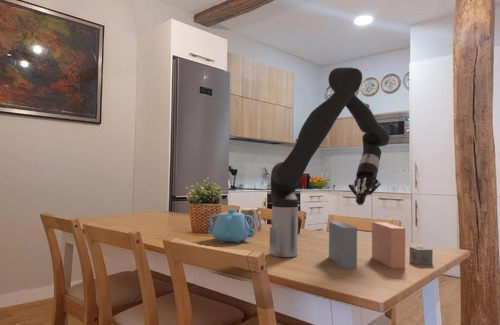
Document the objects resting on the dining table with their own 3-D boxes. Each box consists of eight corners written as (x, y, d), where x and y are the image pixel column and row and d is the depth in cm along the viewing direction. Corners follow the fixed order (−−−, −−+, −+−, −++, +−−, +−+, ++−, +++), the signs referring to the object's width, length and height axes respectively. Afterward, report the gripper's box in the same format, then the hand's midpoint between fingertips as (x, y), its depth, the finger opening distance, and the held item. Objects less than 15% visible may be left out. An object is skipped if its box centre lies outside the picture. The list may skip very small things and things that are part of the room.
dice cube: (423, 261, 125) (423, 246, 125) (432, 265, 120) (432, 249, 120) (409, 261, 124) (409, 246, 125) (418, 265, 119) (418, 249, 120)
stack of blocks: (249, 229, 191) (250, 205, 192) (261, 229, 190) (261, 206, 190) (240, 235, 170) (241, 209, 171) (253, 236, 169) (254, 209, 169)
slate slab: (356, 268, 114) (357, 228, 114) (342, 268, 113) (342, 227, 114) (341, 257, 129) (341, 221, 129) (328, 257, 128) (329, 221, 129)
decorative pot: (238, 236, 168) (238, 206, 168) (257, 242, 154) (257, 209, 155) (205, 239, 159) (206, 208, 160) (222, 245, 145) (223, 211, 146)
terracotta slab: (405, 268, 115) (405, 228, 115) (391, 268, 115) (391, 228, 115) (384, 257, 130) (384, 222, 130) (371, 257, 130) (372, 222, 130)
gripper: (388, 171, 141) (381, 207, 131) (358, 177, 150) (349, 211, 140) (379, 158, 137) (370, 194, 128) (348, 165, 147) (338, 200, 137)
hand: (359, 203), depth 134 cm, fingers closed
